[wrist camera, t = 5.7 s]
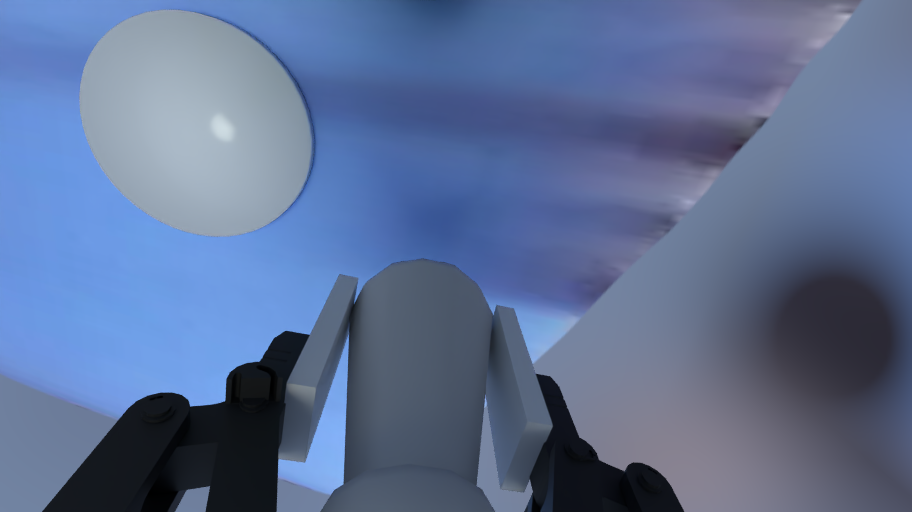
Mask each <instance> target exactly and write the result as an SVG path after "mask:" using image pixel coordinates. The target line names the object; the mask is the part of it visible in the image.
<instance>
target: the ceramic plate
mask: <svg viewBox="0 0 912 512" xmlns="http://www.w3.org/2000/svg"><path fill="white" fill-rule="evenodd" d="M79 99H80V114H81V119H82V124H83V129H84V132H85V135H86V138H87V141H88V144H89V146H90V148H91V150H92V152H93V155H94V157H95V158H96V160H97V162H98V163H99V165H100V167H101V168H102V170H103V171H104V173H105V174H106V175H107V177H108V178H109V179H110V181H111V182H112V183H113V184H114V186H115V187H116V188H117V189H118V190H119V191H120V192H121V193H122V194H123V195H124V196H125V197H126V198H127V199H128V200H130V201H131V202H132V203H133V204H134V205H135V206H137V207H138V208H139V209H141V210H142V211H144V212H145V213H146V214H148V215H150V216H151V217H153V218H155V219H157V220H158V221H160V222H162V223H164V224H167V225H169V226H171V227H173V228H176V229H179V230H182V231H185V232H189V233H193V234H198V235H204V236H214V237H220V236H234V235H241V234H245V233H248V232H252V231H255V230H257V229H259V228H262V227H264V226H266V225H267V224H269V223H270V222H272V221H274V220H275V219H276V218H278V217H279V216H280V215H281V214H282V213H284V212H285V211H286V210H287V209H288V208H289V207H290V206H291V205H292V204H293V203H294V202H295V201H296V199H297V198H298V197H299V195H300V194H301V192H302V190H303V189H304V187H305V185H306V183H307V180H308V178H309V175H310V172H311V168H312V164H313V157H314V132H313V124H312V120H311V116H310V112H309V109H308V106H307V104H306V101H305V99H304V96H303V94H302V92H301V90H300V88H299V86H298V85H297V83H296V81H295V80H294V78H293V77H292V75H291V74H290V72H289V71H288V69H287V68H286V67H285V66H284V64H283V63H282V62H281V61H280V60H279V59H278V57H277V56H276V55H275V54H274V53H272V52H271V51H270V50H269V49H268V48H267V47H266V46H265V45H264V44H262V43H261V42H260V41H258V40H257V39H256V38H254V37H253V36H252V35H250V34H249V33H247V32H245V31H243V30H242V29H240V28H238V27H236V26H234V25H232V24H230V23H227V22H225V21H223V20H220V19H216V18H213V17H209V16H206V15H203V14H199V13H196V12H189V11H183V10H158V11H151V12H145V13H142V14H139V15H136V16H132V17H130V18H129V19H127V20H125V21H123V22H121V23H119V24H117V25H116V26H115V27H113V28H112V29H111V30H109V31H108V32H107V33H106V34H105V35H104V36H103V37H102V38H101V39H100V41H99V42H98V43H97V44H96V46H95V47H94V49H93V50H92V52H91V54H90V55H89V58H88V60H87V62H86V65H85V67H84V71H83V75H82V79H81V84H80V96H79Z"/></svg>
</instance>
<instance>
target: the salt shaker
mask: <svg viewBox="0 0 912 512" xmlns="http://www.w3.org/2000/svg"><path fill="white" fill-rule="evenodd" d="M492 319H493V314H492V312H491V310H490V308H489V306H488V304H487V302H486V299H485V297H484V295H483V293H482V291H481V289H480V288H479V286H478V285H477V284H476V283H475V282H474V281H473V280H472V279H470V278H469V277H468V276H467V275H466V274H464V273H463V272H462V271H461V270H459V269H458V268H457V267H456V266H455V265H452V264H448V263H445V262H437V261H432V260H427V259H417V260H411V261H401V262H397V263H393V264H391V265H389V266H388V267H387V268H385V269H384V270H382V271H381V272H380V273H378V274H377V275H375V276H374V277H373V278H371V279H370V280H369V281H367V282H366V284H365V285H364V286H363V288H362V290H361V292H360V294H359V296H358V298H357V300H356V302H355V304H354V306H353V307H352V309H351V313H350V327H349V354H348V381H347V408H346V435H345V462H344V485H342V486H340V487H339V488H337V489H335V490H334V491H333V493H332V494H331V496H330V498H329V499H328V501H327V502H326V504H325V505H324V507H323V509H322V510H321V512H495V511H494V509H493V507H492V506H491V504H490V502H489V501H488V499H487V497H486V496H485V494H484V492H483V491H482V489H480V488H479V487H477V486H476V484H477V474H478V464H479V454H480V443H481V433H482V422H483V412H484V402H485V392H486V381H487V371H488V361H489V350H490V340H491V329H492Z"/></svg>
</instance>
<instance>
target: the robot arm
mask: <svg viewBox="0 0 912 512" xmlns="http://www.w3.org/2000/svg"><path fill="white" fill-rule="evenodd" d="M357 283H358V278H356V277H351V276H346V275H341V274H339V276H338V278H337V280H336V283H335V285H334V287H333V289H332V291H331V293H330V295H329V297H328V299H327V301H326V303H325V305H324V307H323V309H322V311H321V313H320V315H319V317H318V320H317V322H316V324H315V326H314V328H313V330H312V332H311V334H310V335H307V334H302V333H296V332H290V331H285V332H283V333H282V334H280V335H278V336H277V337H275V338H274V339H273V341H272V343H271V344H270V346H269V347H268V350H267V351H266V352H265V354H264V356H263V358H262V359H261V360H260V362H252V363H246V364H243V365H241V366H238V367H236V368H235V369H234V370H232V371H231V372H230V373H229V375H228V377H227V380H226V401H225V402H221V403H218V404H212V405H204V406H192V407H190V404H189V401H188V400H187V399H186V398H185V397H184V396H182V395H179V394H176V393H157V394H153V395H149V396H146V397H144V398H142V399H140V400H138V401H136V402H135V403H134V404H133V405H132V406H130V407H129V408H128V409H127V411H126V412H125V413H124V414H123V415H122V417H121V418H120V419H119V420H118V421H117V423H116V424H115V425H114V426H113V427H112V429H111V430H110V431H109V432H108V433H107V435H106V436H105V437H104V438H103V439H102V441H101V442H100V443H99V444H98V445H97V447H96V448H95V449H94V450H93V451H92V453H91V454H90V455H89V456H88V457H87V459H86V460H85V461H84V462H83V463H82V465H81V466H80V467H79V468H78V469H77V471H76V472H75V473H74V474H73V475H72V477H71V478H70V479H69V480H68V481H67V483H66V484H65V485H64V486H63V487H62V489H61V490H60V491H59V492H58V493H57V494H56V496H55V497H54V498H53V499H52V501H51V502H50V503H49V504H48V505H47V507H46V508H45V509H44V510H43V511H42V512H175V511H176V508H177V507H178V505H179V503H180V501H181V499H182V497H183V495H184V494H185V492H186V490H188V489H195V488H201V487H207V486H210V490H209V491H210V492H209V496H208V501H207V507H206V512H276V511H277V480H278V459H283V460H290V461H297V462H305V461H306V458H307V455H308V452H309V449H310V446H311V443H312V441H313V438H314V435H315V432H316V429H317V426H318V423H319V420H320V417H321V414H322V411H323V408H324V405H325V402H326V399H327V396H328V393H329V390H330V387H331V384H332V381H333V379H334V376H335V373H336V370H337V367H338V364H339V361H340V358H341V355H342V352H343V349H344V346H345V343H346V340H347V337H348V334H349V327H350V313H351V309H352V307H353V306H354V300H355V295H356V289H357ZM485 394H486V400H487V406H488V413H489V419H490V425H491V431H492V438H493V445H494V451H495V458H496V464H497V471H498V477H499V483H500V489H502V490H509V491H517V492H524V491H525V489H526V487H527V484H528V482H529V480H530V481H531V486H532V490H533V493H532V496H531V498H530V500H529V502H528V505H527V507H526V509H525V511H524V512H684V510H683V508H682V507H681V505H680V503H679V501H678V499H677V497H676V495H675V493H674V491H673V489H672V487H671V485H670V484H669V483H668V481H667V480H666V478H665V477H663V476H662V475H661V474H660V473H659V472H658V471H657V470H655V469H653V468H652V467H650V466H648V465H645V464H643V463H631V464H629V465H628V466H627V468H626V470H625V471H622V470H620V469H618V468H615V467H613V466H610V465H608V464H606V463H604V462H602V461H600V460H599V459H598V456H597V453H596V452H595V450H594V449H593V447H592V446H591V445H589V444H588V443H587V442H586V441H585V440H583V439H581V438H579V435H578V433H577V431H576V428H575V426H574V423H573V420H572V418H571V415H570V413H569V410H568V409H567V405H566V403H565V400H564V399H563V395H562V393H561V390H560V388H559V386H558V385H557V384H556V383H555V381H554V380H553V379H552V378H551V377H550V376H545V375H539V374H535V371H534V368H533V365H532V362H531V359H530V356H529V353H528V350H527V347H526V344H525V341H524V338H523V335H522V332H521V329H520V326H519V323H518V320H517V317H516V314H515V311H514V308H508V307H503V306H498V305H497V306H496V309H495V312H494V315H493V319H492V329H491V340H490V350H489V361H488V371H487V381H486V392H485ZM278 452H279V453H278Z"/></svg>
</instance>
